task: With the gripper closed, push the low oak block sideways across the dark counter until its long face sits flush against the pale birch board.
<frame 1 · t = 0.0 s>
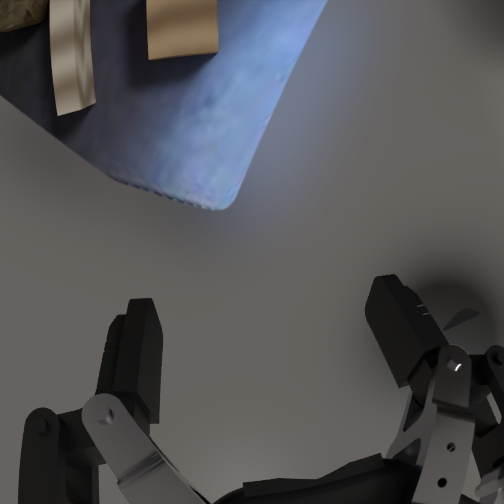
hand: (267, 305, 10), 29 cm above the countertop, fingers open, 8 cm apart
board: (79, 38, 24), on the countertop
oak block: (185, 17, 26), on the countertop
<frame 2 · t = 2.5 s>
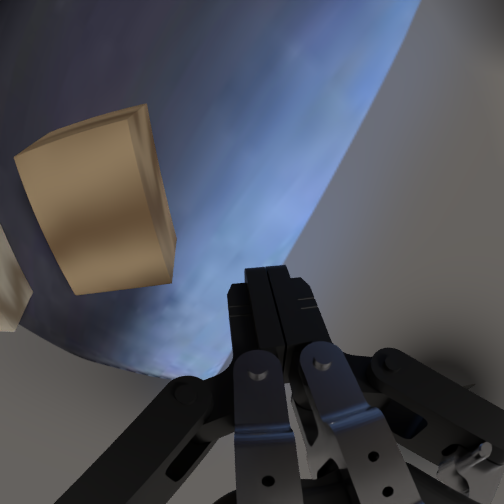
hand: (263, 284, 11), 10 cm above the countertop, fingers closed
oak block: (113, 185, 19), on the countertop
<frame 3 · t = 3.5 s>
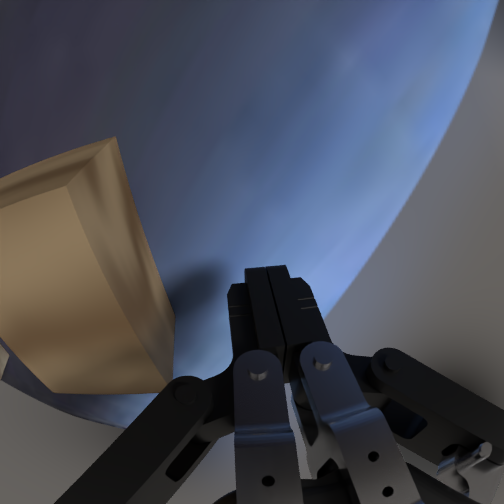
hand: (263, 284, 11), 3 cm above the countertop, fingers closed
oak block: (84, 251, 13), on the countertop
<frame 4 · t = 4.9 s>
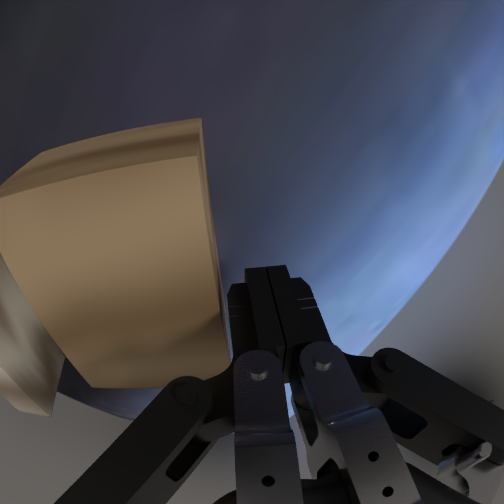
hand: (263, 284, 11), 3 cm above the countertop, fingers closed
oak block: (139, 235, 13), on the countertop
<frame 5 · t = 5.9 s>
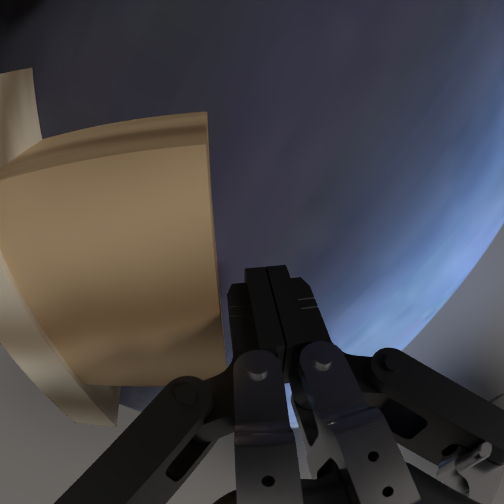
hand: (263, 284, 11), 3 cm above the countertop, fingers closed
board: (51, 255, 13), on the countertop
oak block: (137, 229, 13), on the countertop, touching gripper
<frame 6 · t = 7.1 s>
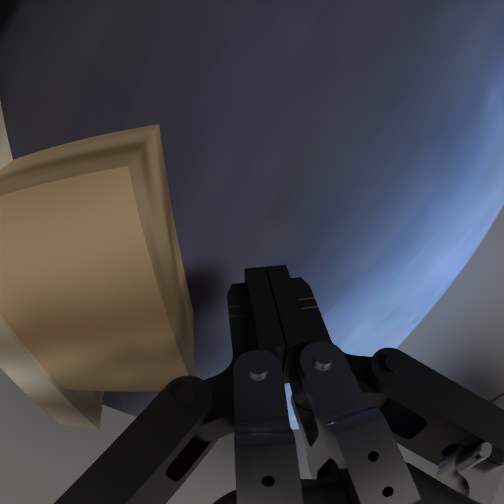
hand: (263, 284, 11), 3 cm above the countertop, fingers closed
board: (30, 267, 13), on the countertop
oak block: (106, 241, 13), on the countertop
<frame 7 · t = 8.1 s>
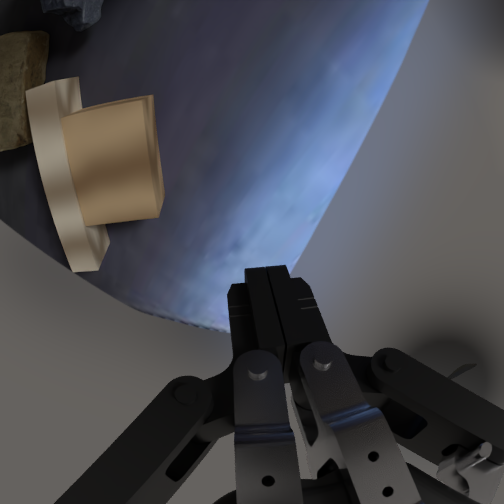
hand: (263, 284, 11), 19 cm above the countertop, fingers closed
board: (78, 167, 25), on the countertop
oak block: (123, 150, 26), on the countertop
stone block: (27, 85, 19), on the countertop
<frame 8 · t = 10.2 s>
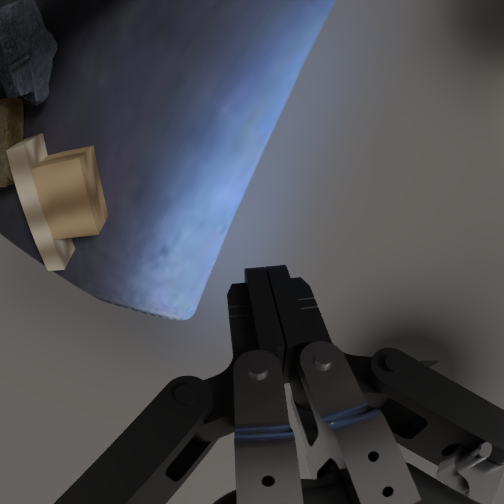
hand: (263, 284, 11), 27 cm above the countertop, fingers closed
board: (49, 196, 34), on the countertop
stone: (43, 50, 23), on the countertop
oak block: (78, 184, 34), on the countertop
stone block: (11, 136, 28), on the countertop
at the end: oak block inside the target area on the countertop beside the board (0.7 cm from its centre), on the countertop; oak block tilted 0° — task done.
